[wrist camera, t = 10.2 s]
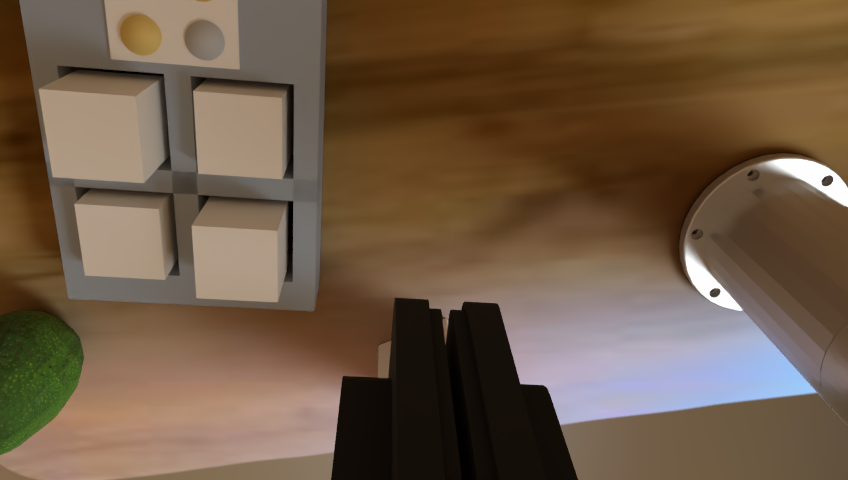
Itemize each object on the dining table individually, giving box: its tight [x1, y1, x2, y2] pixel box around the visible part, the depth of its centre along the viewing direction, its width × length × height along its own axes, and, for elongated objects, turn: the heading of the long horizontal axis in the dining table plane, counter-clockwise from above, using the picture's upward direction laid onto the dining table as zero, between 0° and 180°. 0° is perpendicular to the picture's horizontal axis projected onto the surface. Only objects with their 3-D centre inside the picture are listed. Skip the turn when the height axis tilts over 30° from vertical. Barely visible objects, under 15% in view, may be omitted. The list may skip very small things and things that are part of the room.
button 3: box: [193, 78, 293, 179], centre depth 41 cm, size 5×5×5 cm
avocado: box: [0, 311, 84, 455], centre depth 45 cm, size 8×8×12 cm
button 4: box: [192, 196, 289, 302], centre depth 43 cm, size 5×5×5 cm
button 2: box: [74, 188, 178, 280], centre depth 44 cm, size 5×5×5 cm
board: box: [19, 0, 327, 311], centre depth 42 cm, size 16×23×4 cm
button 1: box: [39, 69, 170, 183], centre depth 39 cm, size 5×5×5 cm
